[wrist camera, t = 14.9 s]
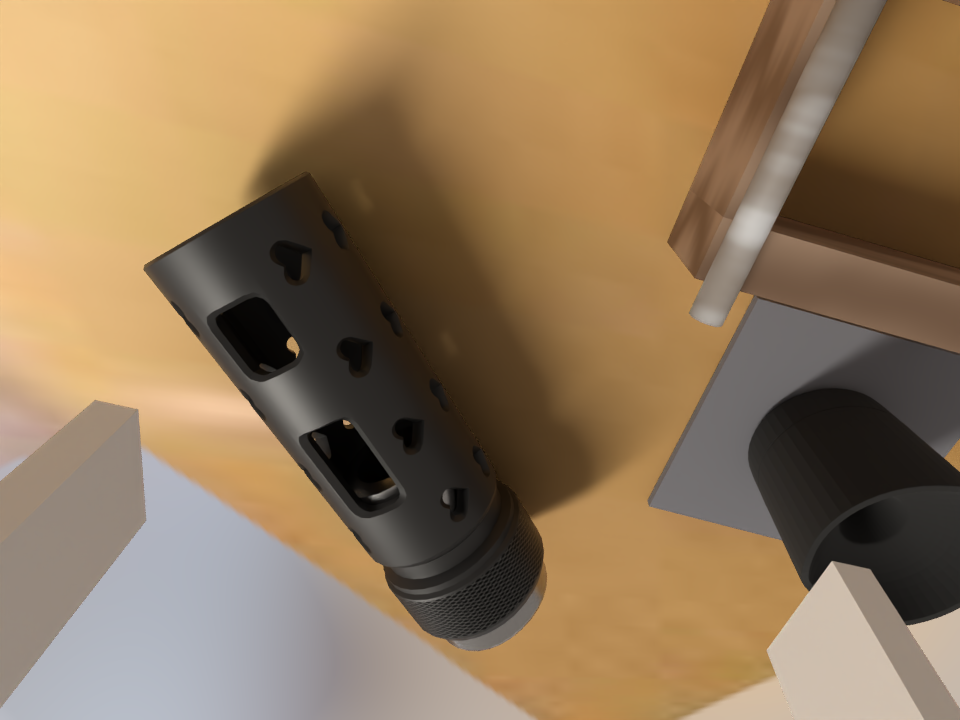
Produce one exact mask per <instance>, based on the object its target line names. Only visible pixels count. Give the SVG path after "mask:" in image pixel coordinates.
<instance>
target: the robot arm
mask: <svg viewBox="0 0 960 720" xmlns="http://www.w3.org/2000/svg"><path fill="white" fill-rule="evenodd" d="M145 521H146V512H145V498H144V484H143V470H142V456H141V442H140V427H139V413H138V409H133V408H129V407H124V406H120V405H115V404H110V403H106V402H101V401H97V400H95V401H94V402H92V403H91V404H90V405H89V406H88V407H87V408H85V409H84V410H83V411H82V412H81V413H80V414H78V415H77V416H76V417H75V418H74V419H73V420H71V421H70V422H69V423H68V424H67V425H66V426H64V427H63V428H62V429H61V430H60V431H59V432H57V433H56V434H55V435H54V436H53V437H52V438H50V439H49V440H48V441H47V442H46V443H45V444H43V445H42V446H41V447H40V448H39V449H38V450H36V451H35V452H34V453H33V454H32V455H30V456H29V457H28V458H27V459H26V460H25V461H23V462H22V463H21V464H20V465H19V466H18V467H16V468H15V469H14V470H13V471H12V472H11V473H9V474H8V475H7V476H6V477H5V478H4V479H2V480H1V481H0V708H1V707H2V705H3V704H4V703H5V702H6V700H7V699H8V698H9V696H10V695H11V694H12V693H13V691H14V690H15V689H16V687H17V686H18V685H19V684H20V682H21V681H22V680H23V678H24V677H25V676H26V675H27V673H28V672H29V671H30V669H31V668H32V667H33V665H34V664H35V663H36V662H37V660H38V659H39V658H40V656H41V655H42V654H43V653H44V651H45V650H46V649H47V647H48V646H49V645H50V644H51V642H52V641H53V640H54V638H55V637H56V636H57V635H58V633H59V632H60V631H61V629H62V628H63V627H64V625H65V624H66V623H67V621H68V620H69V619H70V618H71V617H72V615H73V614H74V613H75V611H76V610H77V609H78V607H79V606H80V605H81V604H82V602H83V601H84V600H85V599H86V597H87V596H88V595H89V593H90V592H91V591H92V590H93V588H94V587H95V586H96V584H97V583H98V582H99V581H100V579H101V578H102V576H103V575H104V574H105V573H106V571H107V570H108V569H109V568H110V566H111V565H112V564H113V562H114V561H115V560H116V558H117V557H118V556H119V555H120V553H121V552H122V551H123V550H124V548H125V547H126V546H127V544H128V543H129V542H130V541H131V539H132V538H133V537H134V535H135V534H136V533H137V532H138V530H139V529H140V528H141V526H142V525H143V524H144V523H145ZM767 653H768V655H769V658H770V660H771V663H772V665H773V668H774V671H775V673H776V676H777V678H778V681H779V683H780V686H781V688H782V691H783V693H784V696H785V699H786V701H787V704H788V706H789V709H790V711H791V714H792V717H793V719H794V720H960V708H959V707H958V705H957V704H956V702H955V701H954V699H953V697H952V696H951V694H950V693H949V691H948V690H947V689H946V687H945V685H944V684H943V682H942V680H941V679H940V677H939V676H938V675H937V673H936V671H935V670H934V668H933V666H932V665H931V664H930V662H929V660H928V659H927V657H926V655H925V654H924V653H923V651H922V649H921V648H920V646H919V645H918V643H917V641H916V640H915V639H914V637H913V635H912V634H911V632H910V631H909V629H908V627H907V626H906V624H905V623H904V621H903V620H902V618H901V617H900V615H899V613H898V612H897V610H896V609H895V607H894V606H893V604H892V603H891V601H890V599H889V598H888V596H887V595H886V593H885V592H884V590H883V589H882V587H881V585H880V584H879V582H878V581H877V579H876V578H875V576H874V575H873V573H872V571H871V570H870V569H867V568H862V567H858V566H853V565H849V564H844V563H839V562H835V561H831V563H830V564H829V566H828V567H827V568H826V570H825V571H824V572H823V574H822V575H821V577H820V578H819V579H818V581H817V582H816V583H815V585H814V586H813V587H812V589H811V590H810V592H809V593H808V594H807V596H806V597H805V598H804V600H803V601H802V603H801V604H800V605H799V607H798V608H797V609H796V611H795V612H794V614H793V615H792V616H791V618H790V619H789V620H788V622H787V623H786V624H785V626H784V627H783V629H782V630H781V631H780V633H779V634H778V635H777V637H776V638H775V640H774V641H773V642H772V644H771V645H770V646H769V648H768V649H767Z"/></svg>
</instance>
